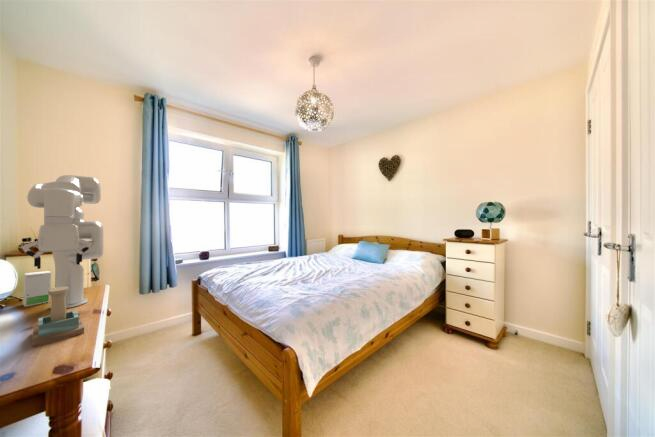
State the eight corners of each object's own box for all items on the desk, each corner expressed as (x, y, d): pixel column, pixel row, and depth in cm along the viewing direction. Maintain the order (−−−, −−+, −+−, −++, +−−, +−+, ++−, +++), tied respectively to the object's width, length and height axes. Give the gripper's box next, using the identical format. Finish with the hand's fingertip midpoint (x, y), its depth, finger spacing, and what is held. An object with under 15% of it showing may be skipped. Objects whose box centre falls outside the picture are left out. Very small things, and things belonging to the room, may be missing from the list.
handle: (46, 333, 82) (46, 292, 82) (50, 326, 87) (50, 288, 87) (66, 329, 86) (67, 289, 86) (69, 323, 90) (69, 285, 90)
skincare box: (24, 307, 110) (24, 275, 109) (22, 304, 113) (22, 273, 113) (51, 302, 117) (51, 271, 117) (48, 299, 120) (49, 270, 120)
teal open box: (32, 333, 86) (33, 317, 86) (79, 322, 95) (79, 308, 95) (32, 346, 77) (32, 329, 77) (83, 333, 87) (84, 317, 87)
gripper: (90, 221, 95) (90, 261, 95) (21, 221, 82) (21, 268, 82) (93, 221, 91) (93, 264, 91) (21, 221, 77) (20, 271, 77)
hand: (59, 266), depth 86 cm, fingers open, 9 cm apart
